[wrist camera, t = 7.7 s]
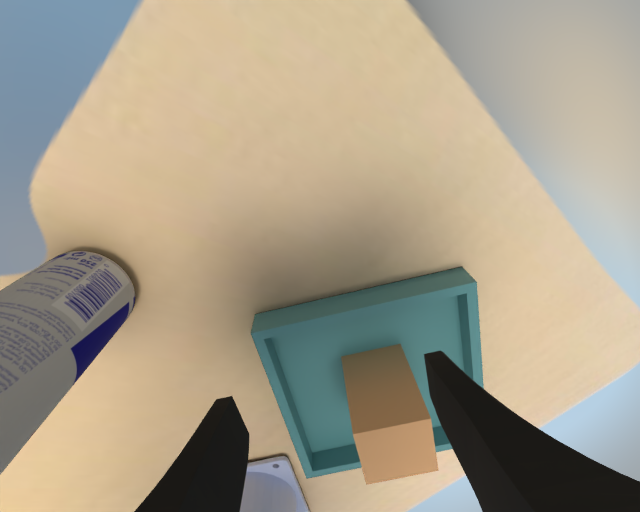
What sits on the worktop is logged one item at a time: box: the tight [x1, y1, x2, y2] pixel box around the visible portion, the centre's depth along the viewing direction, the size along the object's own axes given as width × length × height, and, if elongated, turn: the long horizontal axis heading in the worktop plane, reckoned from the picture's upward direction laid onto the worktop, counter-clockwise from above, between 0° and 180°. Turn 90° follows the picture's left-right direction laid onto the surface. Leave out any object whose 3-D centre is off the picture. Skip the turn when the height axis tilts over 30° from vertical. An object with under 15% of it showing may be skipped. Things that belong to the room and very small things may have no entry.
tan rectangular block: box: [341, 344, 438, 485], centre depth 21 cm, size 4×4×6 cm
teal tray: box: [251, 267, 484, 478], centre depth 24 cm, size 13×13×2 cm
